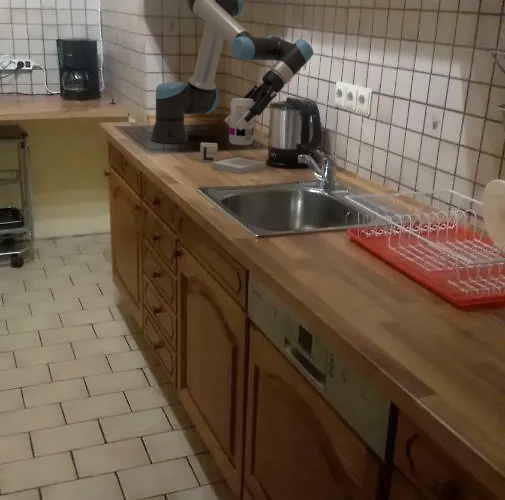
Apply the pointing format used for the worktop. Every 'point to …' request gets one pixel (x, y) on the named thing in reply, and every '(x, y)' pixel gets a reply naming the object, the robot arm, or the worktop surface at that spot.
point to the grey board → (238, 165)
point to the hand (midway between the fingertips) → (232, 125)
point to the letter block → (208, 152)
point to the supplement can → (236, 113)
